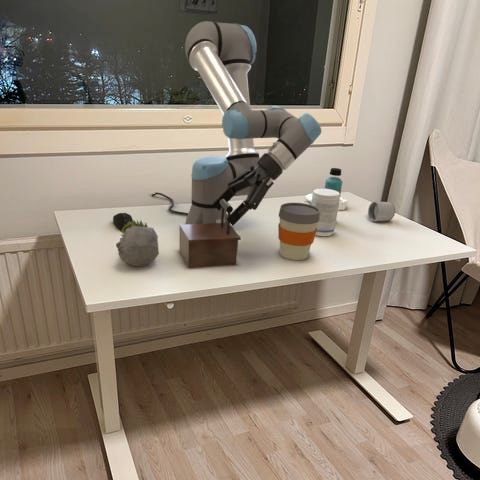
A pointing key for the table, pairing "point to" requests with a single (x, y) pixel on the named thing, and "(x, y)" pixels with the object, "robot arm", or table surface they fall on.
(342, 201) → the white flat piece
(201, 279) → the table surface
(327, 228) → the supplement tub
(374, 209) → the ceramic mug
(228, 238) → the bin lid
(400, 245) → the table surface
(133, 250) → the potted plant
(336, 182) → the beverage bottle
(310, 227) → the reusable coffee cup
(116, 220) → the gaming mouse
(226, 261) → the bin
